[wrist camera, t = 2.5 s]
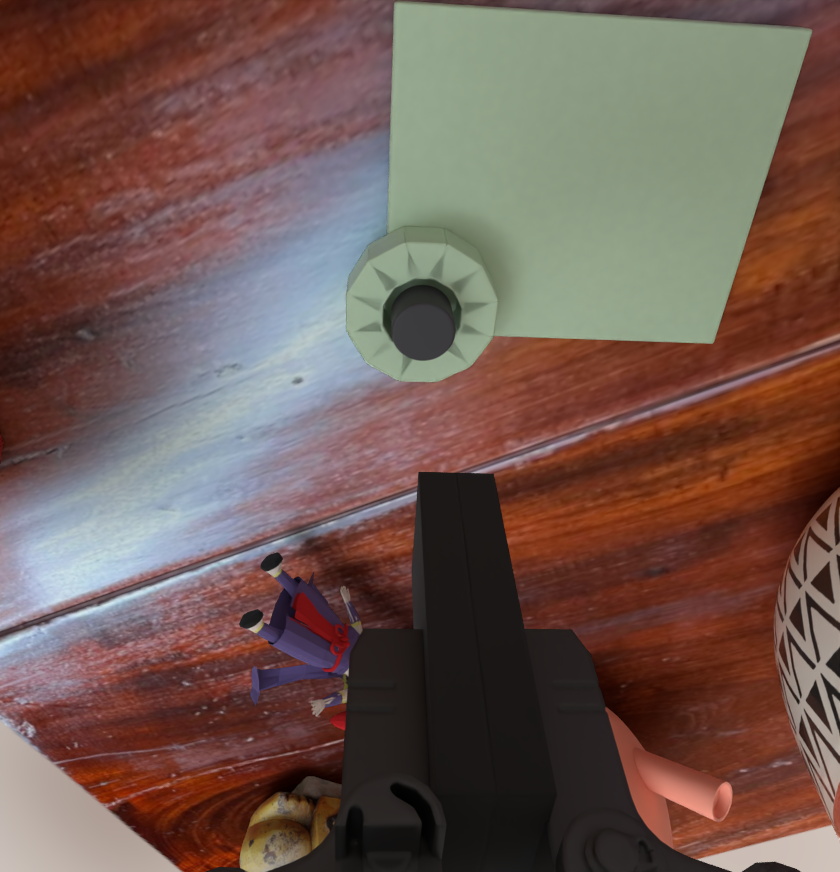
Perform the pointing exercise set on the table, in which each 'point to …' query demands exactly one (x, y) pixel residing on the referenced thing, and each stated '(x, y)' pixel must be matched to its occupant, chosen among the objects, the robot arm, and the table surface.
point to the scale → (569, 174)
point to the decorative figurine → (290, 825)
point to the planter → (813, 650)
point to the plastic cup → (1, 446)
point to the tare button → (422, 323)
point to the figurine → (305, 637)
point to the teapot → (666, 784)
